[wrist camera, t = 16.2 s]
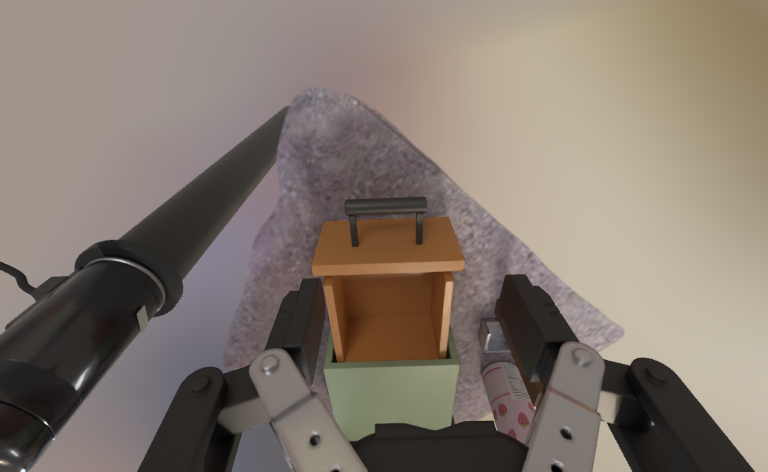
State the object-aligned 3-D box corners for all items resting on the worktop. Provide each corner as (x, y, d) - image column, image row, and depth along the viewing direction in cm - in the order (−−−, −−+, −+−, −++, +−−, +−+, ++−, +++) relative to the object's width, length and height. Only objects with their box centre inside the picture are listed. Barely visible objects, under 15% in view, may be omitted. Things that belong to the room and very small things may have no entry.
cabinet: (333, 304, 42) (323, 369, 34) (444, 300, 42) (460, 364, 34) (345, 376, 51) (339, 441, 42) (437, 373, 50) (449, 438, 42)
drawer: (317, 180, 32) (301, 218, 25) (452, 174, 32) (471, 212, 25) (338, 316, 42) (331, 369, 36) (440, 312, 42) (451, 365, 35)
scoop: (478, 338, 46) (509, 433, 35) (485, 299, 42) (523, 393, 31) (510, 337, 46) (551, 432, 35) (520, 298, 42) (570, 392, 31)
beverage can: (474, 371, 50) (505, 485, 38) (505, 355, 48) (550, 470, 36) (493, 386, 53) (529, 498, 40) (524, 372, 51) (572, 485, 38)
